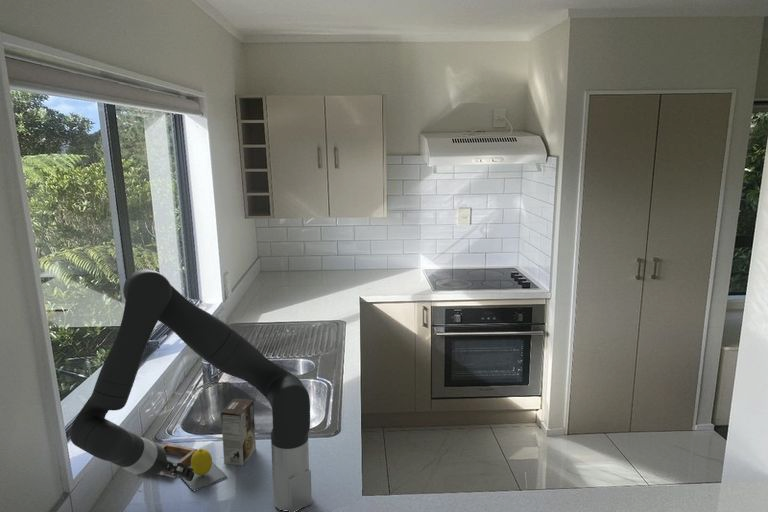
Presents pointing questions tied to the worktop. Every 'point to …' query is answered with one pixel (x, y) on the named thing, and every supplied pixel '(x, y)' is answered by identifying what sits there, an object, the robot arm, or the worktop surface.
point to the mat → (206, 478)
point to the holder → (181, 452)
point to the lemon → (201, 462)
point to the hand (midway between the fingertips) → (177, 474)
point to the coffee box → (238, 431)
